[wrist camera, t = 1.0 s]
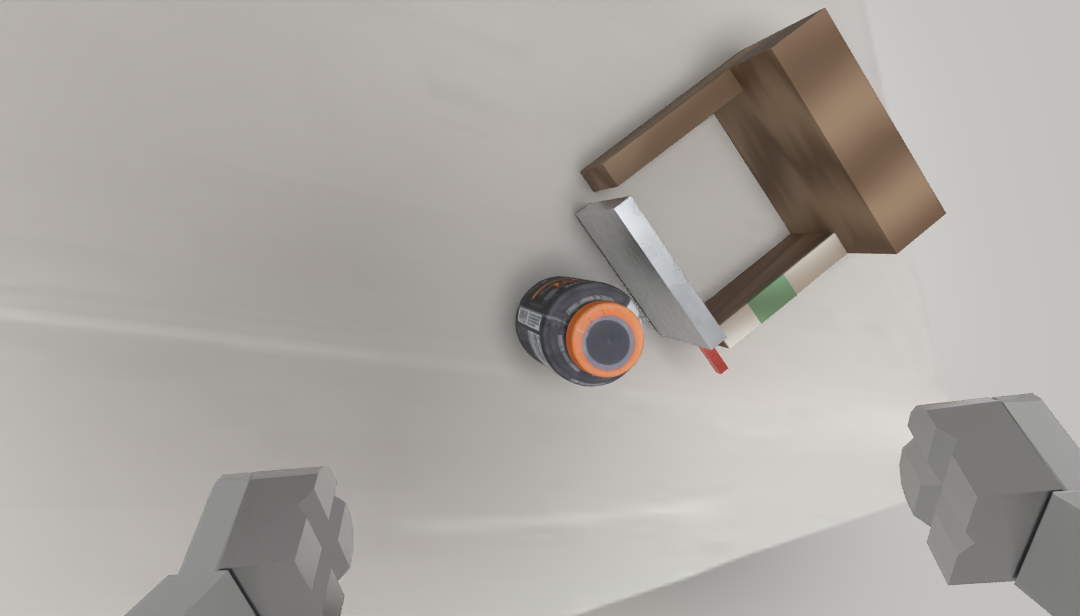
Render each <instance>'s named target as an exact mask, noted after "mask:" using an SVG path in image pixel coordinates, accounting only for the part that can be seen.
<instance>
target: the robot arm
mask: <svg viewBox="0 0 1080 616" xmlns="http://www.w3.org/2000/svg"><path fill="white" fill-rule="evenodd" d="M908 427H909V429H910V431H911V433H912V435H913V437H914V438H913V439H912V440H911V441H910V442H909V443H908V444H906V445H905V446H904V447H903V448H902V453H901V459H900V464H899V467H900V477H901V485H902V488H903V491H904V495H905V498H906V500H907V503H908V504H909V507H910V509H911V511H912V513H913V515H914V516H916V517H917V518H919V519H920V520H922V521H923V522H924V523H926V524H927V525H929V526H930V527H931V529H930V533H929V536H928V540H927V544H928V546H929V548H930V550H931V552H932V554H933V556H934V558H935V560H936V562H937V564H938V566H939V568H940V570H941V572H942V574H943V576H944V578H945V580H946V582H947V584H948V585H959V584H975V583H991V582H1006V581H1015V583H1014V584H1015V585H1016V586H1017V587H1018V588H1019V589H1021V590H1022V591H1023V592H1024V593H1026V594H1027V595H1028V596H1029V597H1030V598H1032V599H1033V600H1034V601H1035V602H1037V603H1038V604H1039V605H1040V606H1041V607H1043V608H1044V609H1045V610H1046V611H1047V612H1049V613H1050V614H1051V615H1052V616H1080V449H1079V447H1078V446H1077V444H1076V443H1075V442H1074V441H1073V439H1072V438H1071V437H1070V436H1069V434H1068V433H1067V432H1066V430H1065V429H1064V428H1063V426H1062V425H1061V424H1060V422H1059V421H1058V420H1057V419H1056V417H1055V416H1054V415H1053V413H1052V412H1051V411H1050V410H1049V408H1048V407H1047V406H1046V404H1045V403H1044V402H1043V401H1042V399H1041V398H1039V397H1038V396H1036V395H1034V394H1033V393H1029V394H1020V395H1010V396H1001V397H993V398H980V399H971V400H962V401H953V402H944V403H935V404H927V405H918V406H916V407H915V408H914V409H913V410H912V412H911V414H910V418H909V422H908ZM336 485H337V482H336V480H335V477H334V475H333V473H332V471H331V469H330V468H329V467H312V468H298V469H285V470H272V471H259V472H252V473H240V474H227V475H222V476H221V477H220V478H219V479H218V480H217V482H216V483H215V484H214V486H213V488H212V491H211V493H210V496H209V498H208V501H207V503H206V506H205V508H204V511H203V513H202V516H201V518H200V521H199V523H198V526H197V528H196V531H195V533H194V536H193V538H192V541H191V543H190V546H189V548H188V551H187V553H186V556H185V558H184V561H183V563H182V566H181V568H180V571H179V573H178V574H176V575H168V576H167V577H166V578H165V579H164V580H163V581H161V582H160V583H159V584H158V585H157V586H156V587H155V588H154V589H153V590H152V591H151V592H150V593H148V594H147V595H146V596H145V597H144V598H143V599H142V600H141V601H140V602H139V603H138V604H137V605H135V606H134V607H133V608H132V609H131V610H130V611H129V612H128V613H127V614H126V615H125V616H340V615H341V610H342V605H343V600H344V594H343V592H342V589H341V587H340V585H339V583H338V580H339V579H340V578H341V577H342V576H343V575H344V574H345V572H346V571H347V570H348V569H349V568H350V565H351V559H352V553H353V525H352V520H351V515H350V512H349V510H348V507H347V505H346V503H345V502H343V501H342V500H340V499H339V498H337V497H335V496H334V494H335V489H336Z"/></svg>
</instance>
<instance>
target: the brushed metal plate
mask: <svg viewBox="0 0 1080 616" xmlns="http://www.w3.org/2000/svg"><path fill="white" fill-rule="evenodd" d="M576 215H577V217H578V218H579V220H580V221H581V222H582V224H583V225H584V227H585V228H586V230H587V231H588V232H589V234H590V235H591V237H592V238H593V240H594V241H595V242H596V244H597V245H598V247H599V248H600V250H601V251H602V252H603V254H604V255H605V257H606V258H607V260H608V261H609V262H610V264H611V265H612V267H613V268H614V269H615V271H616V272H617V274H618V275H619V277H620V278H621V279H622V281H623V282H624V284H625V285H626V287H627V288H628V289H629V291H630V292H631V294H632V295H633V297H634V298H635V299H636V301H637V302H638V304H639V305H640V307H641V308H642V309H643V311H644V312H645V314H646V315H647V316H648V318H649V319H650V321H651V322H652V324H653V325H654V326H655V328H656V329H657V331H658V332H659V334H660V335H663V336H666V337H669V338H673V339H676V340H679V341H683V342H686V343H689V344H692V345H696V346H699V348H700V349H701V351H702V352H703V354H704V355H705V357H706V358H707V359H708V361H709V362H710V364H711V365H712V367H713V368H714V370H715V371H716V372H717V373H719V374H722V373H723V372H724V371H725V370H727V369H728V367H727V366H726V364H725V363H724V361H723V360H722V358H721V357H720V355H719V354H718V352H717V351H716V350H715V347H716V346H717V345H719V344H720V343H721V342H722V341H723V340H725V339H726V338H727V337H726V335H725V334H724V332H723V331H722V329H721V328H720V326H719V325H718V323H717V322H716V320H715V319H714V317H713V316H712V315H711V313H710V312H709V310H708V309H707V307H706V306H705V304H704V303H703V301H702V300H701V298H700V297H699V295H698V294H697V293H696V291H695V290H694V288H693V287H692V285H691V284H690V282H689V281H688V279H687V278H686V276H685V275H684V273H683V272H682V271H681V269H680V268H679V266H678V265H677V263H676V262H675V260H674V259H673V257H672V256H671V254H670V253H669V251H668V250H667V249H666V247H665V246H664V244H663V243H662V241H661V240H660V238H659V237H658V235H657V234H656V232H655V231H654V229H653V228H652V227H651V225H650V224H649V222H648V221H647V219H646V218H645V216H644V215H643V213H642V212H641V210H640V209H639V207H638V206H637V205H636V203H635V202H634V200H633V199H632V197H631V196H628V197H623V198H617V199H612V200H606V201H601V202H595V203H590V204H589V205H587V206H586V207H585V208H583V209H582V210H581V211H579V212H578V213H577V214H576Z"/></svg>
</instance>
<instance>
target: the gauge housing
mask: <svg viewBox="0 0 1080 616" xmlns="http://www.w3.org/2000/svg"><path fill="white" fill-rule="evenodd" d="M713 113H714V114H715V115H716V117H717V118H718V120H719V122H720V123H721V125H722V126H723V128H724V129H725V131H726V133H727V134H728V136H729V137H730V139H731V140H732V142H733V143H734V145H735V147H736V148H737V150H738V151H739V153H740V154H741V156H742V158H743V159H744V161H745V162H746V164H747V165H748V167H749V168H750V170H751V172H752V173H753V175H754V176H755V178H756V179H757V181H758V183H759V184H760V186H761V187H762V189H763V190H764V192H765V193H766V195H767V197H768V198H769V200H770V201H771V203H772V204H773V206H774V208H775V209H776V211H777V212H778V214H779V215H780V217H781V218H782V220H783V222H784V223H785V225H786V226H787V228H788V229H789V231H790V232H791V235H790V236H788V237H787V238H786V239H785V240H783V241H782V242H781V243H780V244H778V245H777V246H776V247H775V248H773V249H772V250H771V251H770V252H768V253H767V254H766V255H765V256H763V257H762V258H761V259H760V260H758V261H757V262H756V263H755V264H753V265H752V266H751V267H750V268H748V269H747V270H746V271H745V272H743V273H742V274H741V275H740V276H738V277H737V278H736V279H735V280H733V281H732V282H731V283H730V284H728V285H727V286H726V287H725V288H723V289H722V290H721V291H720V292H718V293H717V294H716V295H715V296H713V297H712V298H711V299H710V300H708V301H707V302H706V303H705V306H706V307H707V309H708V310H709V312H710V313H711V315H712V316H713V317H714V319H715V320H716V322H717V323H718V325H719V326H720V328H721V329H722V331H723V332H724V334H725V335H726V337H727V338H726V339H725V340H723V341H722V342H721V343H720V344H719V346H722V347H726V348H729V349H730V348H731V347H733V346H734V345H735V344H736V343H738V342H739V341H740V340H741V339H743V338H744V337H745V336H746V335H747V334H749V333H750V332H751V331H752V330H754V329H755V328H756V327H757V326H758V325H760V324H762V323H763V322H764V321H765V320H767V319H768V318H769V317H770V316H772V315H773V314H774V313H775V312H777V311H778V310H779V309H780V308H781V307H783V306H784V305H785V304H786V303H788V302H789V301H790V300H791V299H792V298H794V297H795V296H796V295H797V294H798V293H799V292H800V291H801V290H803V289H804V288H805V287H806V286H808V285H809V284H810V283H811V282H812V281H814V280H815V279H816V278H817V277H819V276H820V275H821V274H822V273H823V272H825V271H826V270H827V269H828V268H830V267H831V266H832V265H833V264H835V263H836V262H837V261H838V260H839V259H841V258H842V257H843V256H844V255H846V254H847V253H873V254H897V253H899V252H900V251H901V250H902V249H903V248H905V247H906V246H907V245H908V244H909V243H911V242H912V241H913V240H914V239H915V238H917V237H918V236H919V235H920V234H922V233H923V232H924V231H925V230H926V229H928V228H929V227H930V226H931V225H932V224H934V223H935V222H936V221H937V220H939V219H940V218H941V217H942V216H943V215H945V214H946V212H945V211H944V209H943V207H942V205H941V204H940V202H939V200H938V199H937V197H936V195H935V194H934V192H933V190H932V188H931V187H930V185H929V183H928V182H927V180H926V179H925V177H924V175H923V173H922V171H921V170H920V168H919V166H918V165H917V163H916V161H915V160H914V158H913V156H912V154H911V153H910V151H909V149H908V148H907V146H906V145H905V143H904V141H903V139H902V137H901V136H900V134H899V132H898V131H897V129H896V127H895V126H894V124H893V122H892V121H891V119H890V117H889V115H888V114H887V112H886V110H885V109H884V107H883V105H882V104H881V102H880V100H879V98H878V97H877V95H876V93H875V92H874V90H873V88H872V87H871V85H870V83H869V81H868V80H867V78H866V76H865V75H864V73H863V71H862V70H861V68H860V66H859V64H858V63H857V61H856V59H855V58H854V56H853V54H852V53H851V51H850V49H849V48H848V46H847V44H846V42H845V41H844V39H843V37H842V36H841V34H840V32H839V31H838V29H837V27H836V25H835V24H834V22H833V20H832V19H831V17H830V15H829V14H828V12H827V10H826V8H823V9H821V10H819V11H818V12H816V13H814V14H812V15H810V16H808V17H806V18H804V19H802V20H800V21H798V22H796V23H794V24H792V25H790V26H788V27H786V28H784V29H782V30H780V31H779V32H777V33H775V34H773V35H771V36H769V37H767V38H765V39H763V40H761V41H759V42H757V43H755V44H753V45H751V46H749V47H747V48H745V49H743V50H741V51H740V52H739V53H737V54H736V55H735V56H733V57H732V58H731V59H729V60H728V61H727V62H725V63H724V64H723V65H721V66H720V67H719V68H717V69H716V70H715V71H713V72H712V73H711V74H709V75H708V76H707V77H705V78H704V79H703V80H701V81H700V82H699V83H697V84H696V85H695V86H693V87H692V88H691V89H689V90H688V91H687V92H685V93H684V94H683V95H681V96H680V97H679V98H677V99H676V100H675V101H673V102H672V103H671V104H669V105H668V106H667V107H665V108H664V109H663V110H661V111H660V112H659V113H657V114H656V115H655V116H653V117H652V118H651V119H649V120H648V121H647V122H645V123H644V124H643V125H641V126H640V127H639V128H637V129H636V130H635V131H633V132H632V133H631V134H629V135H628V136H627V137H626V138H624V139H623V140H622V141H620V142H619V143H618V144H616V145H615V146H614V147H612V148H611V149H610V150H608V151H607V152H606V153H604V154H603V155H602V156H600V157H599V158H598V159H596V160H595V161H594V162H592V163H591V164H590V165H588V166H587V167H586V168H584V169H583V170H582V171H580V172H581V174H582V175H583V177H584V178H585V180H586V181H587V182H588V184H589V185H590V187H591V188H592V190H593V191H594V192H595V191H599V190H603V189H608V188H612V187H617V186H619V185H620V184H621V183H623V182H624V181H625V180H627V179H628V178H629V177H631V176H632V175H633V174H635V173H636V172H637V171H638V170H640V169H641V168H642V167H644V166H645V165H646V164H648V163H649V162H650V161H652V160H653V159H654V158H656V157H657V156H658V155H660V154H661V153H662V152H663V151H665V150H666V149H667V148H669V147H670V146H671V145H673V144H674V143H675V142H677V141H678V140H679V139H681V138H682V137H683V136H684V135H686V134H687V133H688V132H690V131H691V130H692V129H694V128H695V127H696V126H698V125H699V124H700V123H702V122H703V121H704V120H705V119H707V118H708V117H709V116H711V115H712V114H713Z"/></svg>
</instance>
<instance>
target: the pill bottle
mask: <svg viewBox="0 0 1080 616" xmlns="http://www.w3.org/2000/svg"><path fill="white" fill-rule="evenodd" d="M516 331H517V335H518V338H519V341H520V342H521V344H522V346H523V347H524V349H525V350H526V351H527V353H528V354H530V355H531V356H532V357H533V358H534V359H536V360H537V361H539V362H540V363H542V364H543V365H545V366H546V367H548V368H549V369H551V370H552V371H553V372H555V373H556V374H558V375H559V376H561V377H563V378H564V379H566V380H568V381H570V382H572V383H575V384H578V385H581V386H601V385H605V384H608V383H611V382H613V381H615V380H617V379H618V378H620V377H621V376H623V375H624V374H625V373H626V372H627V371H628V370H629V369H630V368H631V367H632V366H634V365H635V363H636V362H637V361H638V359H639V357H640V355H641V353H642V350H643V345H644V333H643V324H642V319H641V316H640V313H639V311H638V309H637V307H636V306H635V304H634V303H633V301H632V300H631V299H630V297H629V296H628V295H626V294H625V293H624V292H622V291H621V290H620V289H618V288H616V287H614V286H612V285H609V284H606V283H602V282H596V281H589V280H583V279H576V278H570V277H561V276H557V277H551V278H548V279H545V280H542V281H540V282H539V283H537V284H536V285H534V286H533V287H532V288H531V289H530V290H528V292H527V293H526V294H525V295H524V297H523V298H522V300H521V302H520V304H519V307H518V309H517V314H516Z"/></svg>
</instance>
